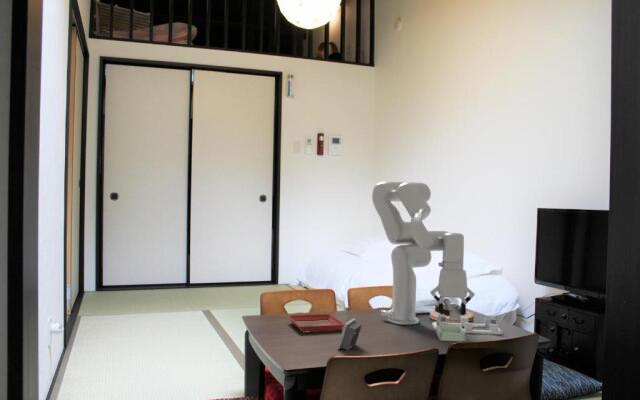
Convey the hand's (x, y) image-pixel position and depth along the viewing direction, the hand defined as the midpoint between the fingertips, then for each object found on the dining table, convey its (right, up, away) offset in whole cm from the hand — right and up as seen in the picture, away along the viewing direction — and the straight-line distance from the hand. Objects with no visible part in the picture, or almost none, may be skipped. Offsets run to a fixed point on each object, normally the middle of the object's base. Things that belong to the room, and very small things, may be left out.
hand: (451, 313), depth 199 cm
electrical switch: (-39, -8, -16) cm, 43 cm away
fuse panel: (+9, -9, +13) cm, 18 cm away
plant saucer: (-51, -8, +10) cm, 52 cm away
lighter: (0, -2, 0) cm, 2 cm away
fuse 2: (+18, -9, +12) cm, 23 cm away
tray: (0, -9, 0) cm, 9 cm away
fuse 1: (-1, -8, +13) cm, 16 cm away
